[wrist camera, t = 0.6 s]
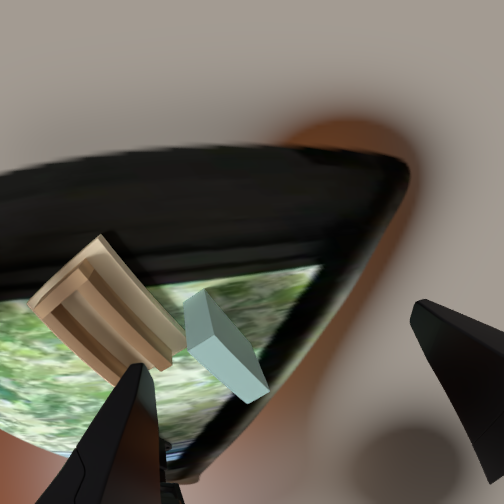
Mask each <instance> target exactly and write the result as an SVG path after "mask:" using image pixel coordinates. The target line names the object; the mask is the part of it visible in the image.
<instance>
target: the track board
mask: <svg viewBox="0 0 504 504" xmlns="http://www.w3.org/2000/svg"><path fill="white" fill-rule="evenodd" d="M27 305H28V306H29V307H30V309H31V310H32V311H33V312H34V313H35V314H36V315H37V316H38V317H39V318H40V320H41V321H42V322H43V323H44V324H45V325H46V326H47V327H48V328H49V329H50V330H51V331H52V332H53V333H54V334H55V335H56V336H57V337H58V338H59V339H60V340H61V341H62V342H63V343H64V344H65V345H66V346H67V347H68V348H69V349H70V350H71V351H72V352H74V353H75V354H76V355H77V356H78V357H79V358H80V359H81V360H82V361H83V362H85V363H86V364H87V365H88V366H89V367H90V368H92V369H93V370H94V371H95V372H96V373H97V374H99V375H100V376H101V377H102V378H103V379H105V380H106V381H107V382H108V383H110V384H111V385H112V386H113V387H115V386H116V385H117V383H118V382H119V380H120V379H121V377H122V376H123V374H124V373H125V371H126V370H127V368H128V367H129V365H130V364H132V363H141V362H142V363H144V364H145V365H146V367H147V369H148V370H150V369H152V368H153V367H156V368H157V369H158V370H159V371H163V370H165V369H167V368H168V367H170V366H172V356H173V355H175V354H177V353H178V352H180V351H182V350H183V349H185V348H186V347H187V341H186V331H185V330H184V329H183V328H182V327H181V326H180V325H179V324H178V323H177V322H176V320H175V319H174V318H173V317H172V316H171V315H170V314H169V313H168V312H167V311H166V310H165V309H164V308H163V307H162V305H161V304H160V303H159V302H158V301H157V300H156V299H155V298H154V297H153V296H152V294H151V293H150V292H149V291H148V290H147V289H146V288H145V286H144V285H143V284H142V283H141V282H140V281H139V280H138V278H137V277H136V276H135V275H134V274H133V273H132V271H131V270H130V269H129V268H128V267H127V265H126V264H125V263H124V262H123V261H122V259H121V258H120V257H119V256H118V255H117V253H116V252H115V251H114V250H113V248H112V247H111V246H110V245H109V243H108V242H107V241H106V240H105V238H104V237H103V236H102V234H100V235H99V236H98V237H96V238H95V239H94V240H93V241H92V242H91V243H89V244H88V245H87V246H86V247H85V248H84V249H82V250H81V251H80V252H79V253H78V254H77V255H76V256H74V257H73V258H72V259H71V260H70V261H69V262H68V263H67V264H66V265H64V266H63V267H62V268H61V269H60V270H59V271H58V272H57V273H56V274H55V275H54V276H53V277H52V278H51V279H50V280H48V281H47V282H46V283H45V284H44V285H43V286H42V287H41V288H40V289H39V290H38V291H37V292H36V293H35V294H34V295H33V296H32V297H31V298H30V300H29V301H28V302H27Z"/></svg>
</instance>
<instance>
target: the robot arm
mask: <svg viewBox="0 0 504 504" xmlns="http://www.w3.org/2000/svg"><path fill="white" fill-rule="evenodd" d="M410 325H411V327H412V329H413V331H414V333H415V336H416V338H417V339H418V342H419V344H420V346H421V348H422V350H423V352H424V355H425V356H426V359H427V360H428V362H429V364H430V366H431V367H432V369H433V371H434V373H435V374H436V376H437V378H438V380H439V381H440V383H441V385H442V387H443V389H444V390H445V392H446V394H447V396H448V398H449V399H450V402H451V403H452V405H453V407H454V409H455V411H456V413H457V415H458V417H459V419H460V421H461V423H462V425H463V426H464V429H465V431H466V433H467V435H468V437H469V439H470V441H471V443H472V446H473V448H474V450H475V452H476V454H477V457H478V459H479V461H480V464H481V466H482V468H483V470H484V473H485V475H486V477H487V480H488V482H489V484H492V483H494V482H495V481H497V480H498V479H499V478H501V477H502V476H504V332H503V331H500V330H498V329H496V328H493V327H491V326H489V325H486V324H484V323H482V322H479V321H477V320H475V319H472V318H470V317H467V316H465V315H463V314H461V313H458V312H456V311H454V310H451V309H449V308H446V307H444V306H442V305H439V304H437V303H434V302H432V301H429V300H427V299H422V300H419V301H417V302H415V304H414V307H413V310H412V314H411V317H410ZM170 449H172V445H171V444H170V443H168V442H166V441H165V440H163V439H161V438H160V437H159V428H158V418H157V409H156V399H155V388H154V382H153V379H152V377H151V375H150V373H149V371H148V369H147V367H146V365H145V364H144V363H142V362H141V363H132V364H130V365H129V367H128V368H127V370H126V371H125V373H124V374H123V376H122V377H121V379H120V380H119V382H118V383H117V385H116V386H115V388H114V389H113V391H112V392H111V394H110V395H109V397H108V398H107V400H106V401H105V403H104V404H103V406H102V407H101V409H100V410H99V412H98V413H97V415H96V416H95V418H94V419H93V421H92V422H91V424H90V425H89V427H88V429H87V430H86V432H85V433H84V435H83V436H82V438H81V440H80V441H79V443H78V444H77V446H76V448H75V449H74V450H73V452H72V454H71V455H70V457H69V458H68V460H67V462H66V463H65V465H64V466H63V467H62V469H61V470H60V472H59V473H58V474H57V476H56V477H55V478H54V480H53V481H52V482H51V484H50V485H49V486H48V488H47V489H46V490H45V491H44V493H43V494H42V495H41V496H40V498H39V499H38V500H37V501H36V503H35V504H185V503H184V500H183V497H182V494H181V490H180V487H179V484H178V483H166V476H165V471H166V470H167V462H166V451H168V450H170Z"/></svg>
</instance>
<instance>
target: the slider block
mask: <svg viewBox="0 0 504 504" xmlns="http://www.w3.org/2000/svg"><path fill="white" fill-rule="evenodd" d="M183 307H184V319H185V330H186V341H187V351H188V352H189V353H190V354H191V355H192V356H193V357H194V358H195V359H196V360H197V361H198V362H199V363H200V364H202V365H203V366H204V367H205V368H206V369H207V370H208V371H209V372H210V373H212V374H213V375H214V376H215V377H216V378H217V379H218V380H219V381H221V382H222V383H223V384H224V385H225V386H226V387H227V388H229V389H230V390H231V391H232V392H233V393H235V394H236V395H237V396H238V397H239V398H241V399H242V400H243V401H244V402H245V403H247V404H249V403H250V402H252V401H254V400H256V399H258V398H259V397H261V396H263V395H265V394H266V393H268V392H270V390H269V387H268V385H267V382H266V380H265V377H264V375H263V373H262V370H261V368H260V365H259V363H258V360H257V358H256V355H255V353H254V350H253V348H252V345H251V343H250V342H249V341H248V340H247V339H246V337H245V336H244V335H243V334H242V333H241V332H240V331H239V329H238V328H237V327H236V326H235V325H234V324H233V322H232V321H231V320H230V319H229V318H228V317H227V315H226V314H225V313H224V312H223V311H222V310H221V308H220V307H219V306H218V305H217V304H216V302H215V301H214V300H213V299H212V298H211V296H210V295H209V294H208V293H207V292H206V290H205V289H202V290H201V291H199V292H198V293H196V294H195V295H193V296H192V297H190V298H189V299H187V300H186V301H184V302H183Z"/></svg>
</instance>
